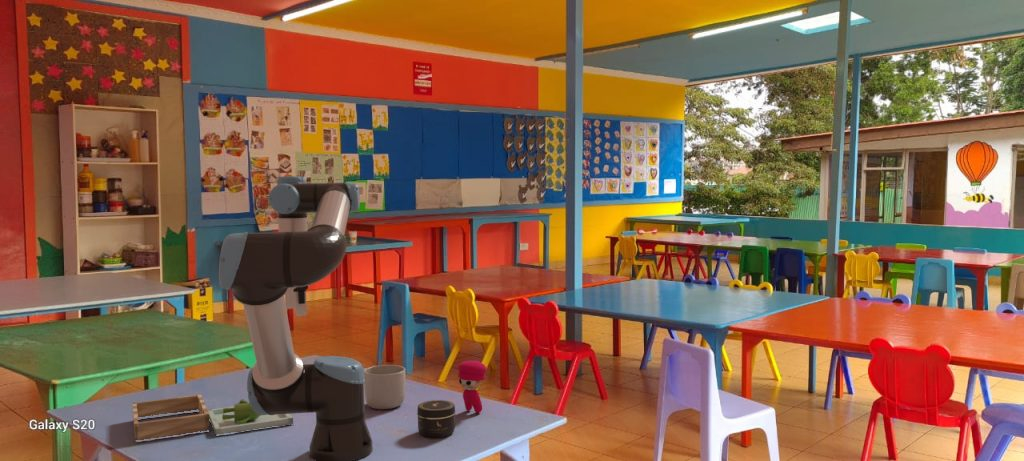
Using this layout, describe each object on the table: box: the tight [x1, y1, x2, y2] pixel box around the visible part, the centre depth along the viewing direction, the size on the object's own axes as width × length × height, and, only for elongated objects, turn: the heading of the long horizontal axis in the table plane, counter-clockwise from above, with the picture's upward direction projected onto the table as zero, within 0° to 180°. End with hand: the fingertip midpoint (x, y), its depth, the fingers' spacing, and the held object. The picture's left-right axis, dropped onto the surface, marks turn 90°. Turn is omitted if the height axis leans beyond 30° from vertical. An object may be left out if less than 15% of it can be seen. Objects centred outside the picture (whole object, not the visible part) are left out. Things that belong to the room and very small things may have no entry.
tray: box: [207, 405, 294, 435], centre depth 213 cm, size 20×20×2 cm
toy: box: [457, 359, 488, 414], centre depth 218 cm, size 8×8×15 cm
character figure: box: [222, 398, 261, 424], centre depth 210 cm, size 12×5×12 cm
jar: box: [416, 399, 456, 439], centre depth 200 cm, size 10×10×8 cm
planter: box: [363, 364, 407, 410], centre depth 226 cm, size 12×12×11 cm
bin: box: [132, 393, 211, 441], centre depth 209 cm, size 22×18×5 cm
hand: (295, 312), depth 205 cm, fingers open, 13 cm apart
